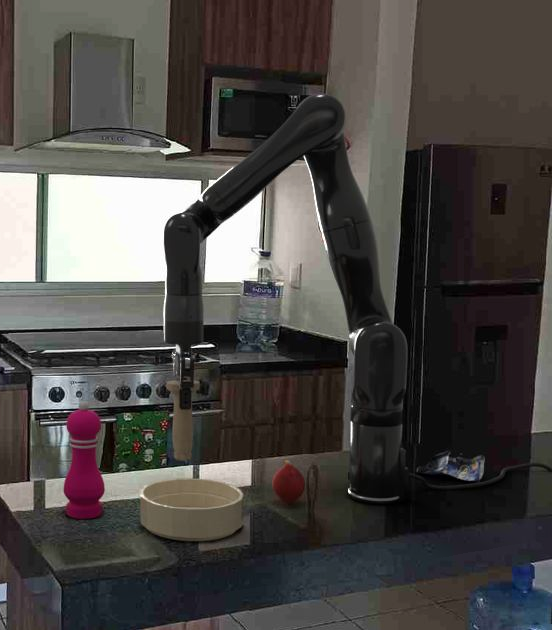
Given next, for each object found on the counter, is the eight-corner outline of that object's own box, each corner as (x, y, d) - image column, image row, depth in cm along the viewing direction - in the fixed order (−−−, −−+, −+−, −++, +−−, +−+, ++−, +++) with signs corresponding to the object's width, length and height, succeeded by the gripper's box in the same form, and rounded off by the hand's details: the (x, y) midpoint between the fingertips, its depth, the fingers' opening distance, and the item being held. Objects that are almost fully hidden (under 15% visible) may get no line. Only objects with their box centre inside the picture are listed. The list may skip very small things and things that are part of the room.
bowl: (232, 507, 148) (233, 477, 148) (252, 541, 131) (252, 508, 131) (137, 509, 147) (137, 479, 147) (143, 544, 130) (143, 510, 130)
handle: (202, 461, 158) (203, 383, 157) (171, 463, 156) (171, 385, 155) (193, 454, 163) (194, 379, 162) (162, 457, 161) (163, 381, 160)
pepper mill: (73, 522, 140) (72, 406, 139) (57, 510, 147) (56, 399, 145) (111, 516, 144) (111, 402, 142) (94, 504, 150) (93, 395, 148)
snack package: (442, 487, 161) (494, 481, 163) (438, 454, 161) (491, 449, 164) (408, 481, 172) (457, 475, 175) (405, 450, 173) (454, 445, 176)
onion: (306, 501, 152) (307, 458, 151) (302, 510, 147) (303, 466, 146) (274, 498, 154) (275, 455, 153) (269, 507, 148) (270, 463, 148)
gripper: (208, 321, 150) (208, 413, 152) (198, 314, 165) (197, 399, 166) (167, 321, 150) (167, 414, 151) (160, 315, 164) (160, 399, 166)
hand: (183, 405), depth 159 cm, fingers closed on handle, 5 cm apart
